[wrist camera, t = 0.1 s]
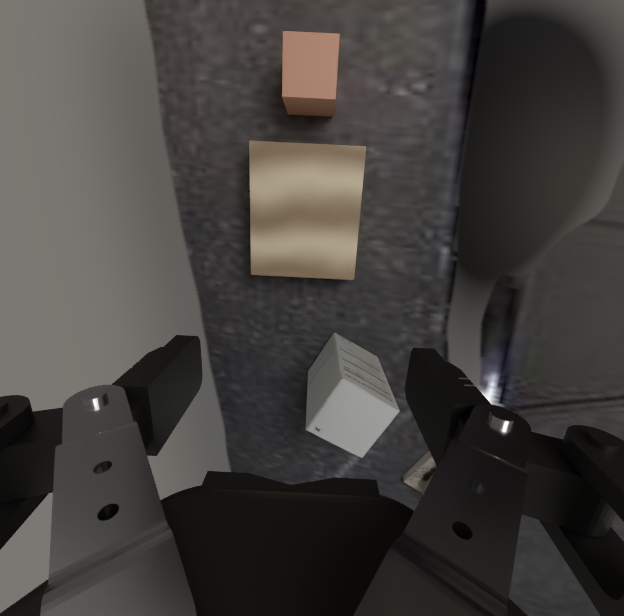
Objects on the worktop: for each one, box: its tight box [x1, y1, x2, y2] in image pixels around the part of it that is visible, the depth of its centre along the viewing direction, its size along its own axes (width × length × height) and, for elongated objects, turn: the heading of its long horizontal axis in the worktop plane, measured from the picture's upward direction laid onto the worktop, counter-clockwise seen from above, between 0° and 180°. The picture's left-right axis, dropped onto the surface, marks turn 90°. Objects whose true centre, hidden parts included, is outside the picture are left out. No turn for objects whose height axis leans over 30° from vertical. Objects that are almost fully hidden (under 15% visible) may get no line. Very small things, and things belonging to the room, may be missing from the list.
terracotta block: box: [282, 31, 340, 117], centre depth 31 cm, size 5×5×6 cm
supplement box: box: [306, 333, 400, 458], centre depth 38 cm, size 7×7×13 cm
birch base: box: [249, 141, 366, 280], centre depth 36 cm, size 14×12×4 cm
